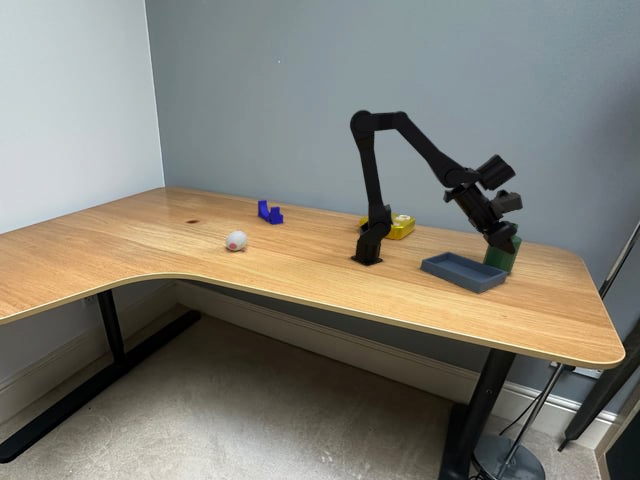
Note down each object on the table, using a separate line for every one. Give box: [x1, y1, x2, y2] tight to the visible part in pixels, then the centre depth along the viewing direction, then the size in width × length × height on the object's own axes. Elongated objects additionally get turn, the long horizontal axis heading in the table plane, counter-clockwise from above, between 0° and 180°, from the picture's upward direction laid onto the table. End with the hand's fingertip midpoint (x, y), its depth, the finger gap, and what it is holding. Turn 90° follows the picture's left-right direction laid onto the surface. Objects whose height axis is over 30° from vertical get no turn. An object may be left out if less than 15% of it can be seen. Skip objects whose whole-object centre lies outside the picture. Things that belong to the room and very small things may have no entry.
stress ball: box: [225, 230, 248, 253], centre depth 113 cm, size 8×8×7 cm
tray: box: [419, 251, 508, 294], centre depth 96 cm, size 11×16×3 cm
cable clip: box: [257, 199, 284, 226], centre depth 139 cm, size 12×4×6 cm, turn 25°
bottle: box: [482, 221, 523, 277], centre depth 96 cm, size 7×7×13 cm
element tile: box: [358, 212, 416, 241], centre depth 128 cm, size 15×15×5 cm
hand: (509, 248), depth 96 cm, fingers closed on bottle, 7 cm apart
